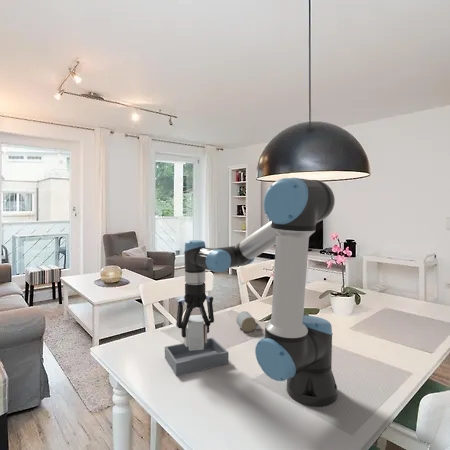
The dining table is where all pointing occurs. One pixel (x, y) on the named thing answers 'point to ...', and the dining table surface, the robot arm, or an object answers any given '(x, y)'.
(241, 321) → the ceramic mug
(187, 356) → the bin
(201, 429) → the dining table surface
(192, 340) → the small box
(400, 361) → the dining table surface
